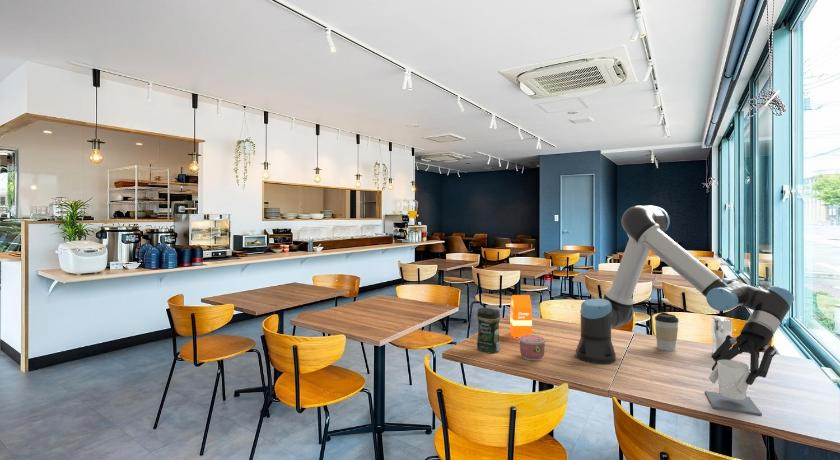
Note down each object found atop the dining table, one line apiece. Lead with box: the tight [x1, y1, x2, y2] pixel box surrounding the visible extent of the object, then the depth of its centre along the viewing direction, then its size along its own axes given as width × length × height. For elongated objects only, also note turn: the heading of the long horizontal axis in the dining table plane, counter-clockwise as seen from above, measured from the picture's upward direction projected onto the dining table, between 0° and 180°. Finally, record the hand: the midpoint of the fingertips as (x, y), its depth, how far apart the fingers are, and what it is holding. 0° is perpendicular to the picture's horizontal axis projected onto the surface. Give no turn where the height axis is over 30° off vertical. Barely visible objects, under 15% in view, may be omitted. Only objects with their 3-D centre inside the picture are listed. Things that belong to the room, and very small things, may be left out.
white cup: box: [717, 359, 750, 400], centre depth 132 cm, size 8×8×10 cm
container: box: [518, 334, 546, 361], centre depth 175 cm, size 10×10×8 cm
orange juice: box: [509, 294, 533, 339], centre depth 205 cm, size 8×9×20 cm
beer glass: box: [711, 316, 733, 355], centre depth 176 cm, size 7×7×15 cm
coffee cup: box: [654, 312, 680, 352], centre depth 184 cm, size 9×9×15 cm
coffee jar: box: [476, 306, 501, 354], centre depth 184 cm, size 10×8×19 cm
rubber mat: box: [704, 390, 763, 416], centre depth 132 cm, size 12×12×1 cm
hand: (725, 385), depth 130 cm, fingers closed on white cup, 8 cm apart
